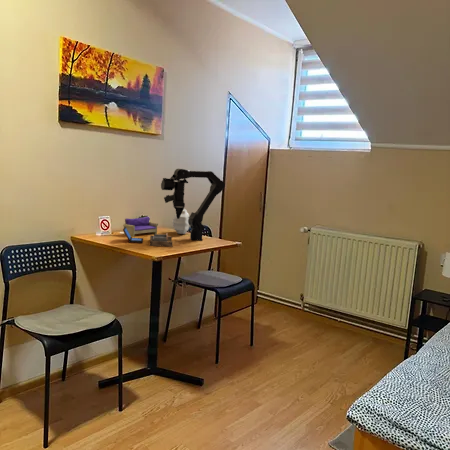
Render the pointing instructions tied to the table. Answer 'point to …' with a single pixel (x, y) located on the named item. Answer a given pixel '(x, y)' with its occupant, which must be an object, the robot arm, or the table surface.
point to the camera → (181, 222)
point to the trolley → (160, 237)
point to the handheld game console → (131, 240)
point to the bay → (161, 242)
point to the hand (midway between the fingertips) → (177, 217)
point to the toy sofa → (140, 226)
